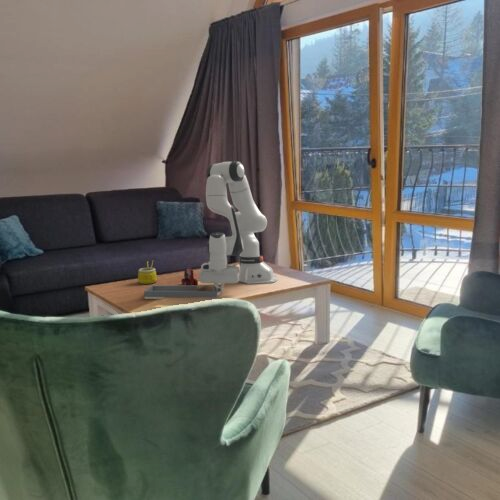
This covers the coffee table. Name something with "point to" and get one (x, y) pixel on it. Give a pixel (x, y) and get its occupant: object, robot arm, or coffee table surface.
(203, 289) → the walnut block
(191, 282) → the red wheeled piece
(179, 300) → the coffee table surface
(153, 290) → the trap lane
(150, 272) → the mug
